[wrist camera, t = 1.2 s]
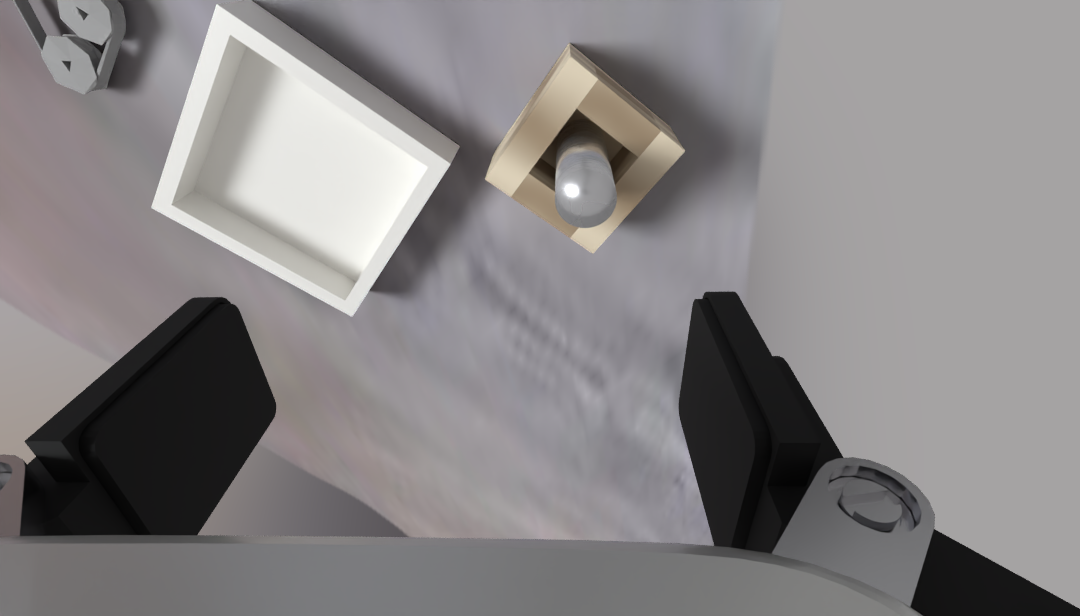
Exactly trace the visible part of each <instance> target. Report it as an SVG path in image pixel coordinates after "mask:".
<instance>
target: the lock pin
mask: <svg viewBox="0 0 1080 616" xmlns="http://www.w3.org/2000/svg"><path fill="white" fill-rule="evenodd" d="M616 203H617V193H616V188H615V183H614V179H613V174H612V170H611V166H610V161H609V157H608V152H607V148H606V143H605V139H604V135H603V133H602V131H601V129H600V128H599V127H598V126H597V125H596V124H594V123H593V122H591V121H588V120H575V121H572V122H570V123H568V124H567V125H566V126H565V127H564V128H563V129H562V130H561V132H560V133H559V135H558V139H557V152H556V180H555V206H556V209H557V212H558V213H559V215H560V216H561V218H562V219H563V220H564V221H566V222H567V223H568V224H570V225H572V226H575V227H579V228H591V227H595V226H598V225H600V224H602V223H603V222H605V221H606V220H607V219H608V218H609V217H610V216H611V215H612V213H613V211H614V209H615V207H616Z"/></svg>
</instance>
